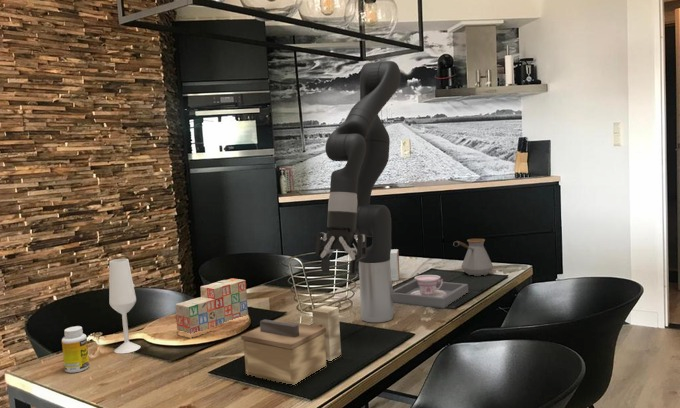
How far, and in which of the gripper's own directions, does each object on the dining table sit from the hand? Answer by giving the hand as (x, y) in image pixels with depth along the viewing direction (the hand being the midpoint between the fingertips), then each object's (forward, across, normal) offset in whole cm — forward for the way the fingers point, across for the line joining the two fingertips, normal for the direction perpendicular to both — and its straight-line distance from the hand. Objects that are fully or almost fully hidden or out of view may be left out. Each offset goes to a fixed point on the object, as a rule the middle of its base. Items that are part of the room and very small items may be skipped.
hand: (339, 273), depth 148 cm
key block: (+20, -3, +7) cm, 21 cm away
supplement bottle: (+26, +49, +39) cm, 68 cm away
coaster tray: (+8, -2, -50) cm, 51 cm away
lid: (+14, +1, +18) cm, 23 cm away
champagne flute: (+24, +50, +24) cm, 61 cm away
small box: (+5, +22, -69) cm, 72 cm away
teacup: (+8, -2, -50) cm, 51 cm away
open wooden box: (+22, +1, +18) cm, 28 cm away
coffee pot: (+2, -4, -81) cm, 82 cm away
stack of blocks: (+19, +42, +1) cm, 46 cm away
